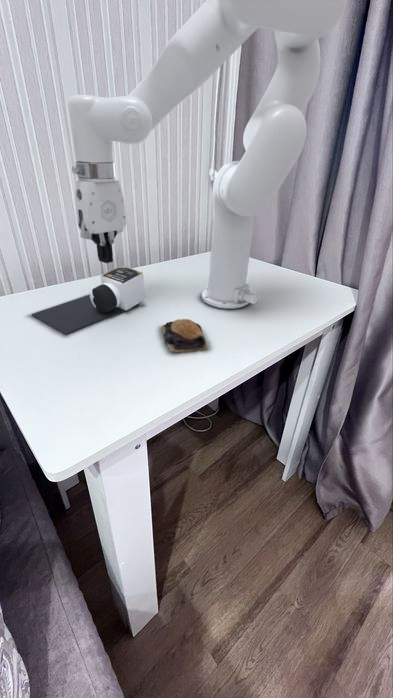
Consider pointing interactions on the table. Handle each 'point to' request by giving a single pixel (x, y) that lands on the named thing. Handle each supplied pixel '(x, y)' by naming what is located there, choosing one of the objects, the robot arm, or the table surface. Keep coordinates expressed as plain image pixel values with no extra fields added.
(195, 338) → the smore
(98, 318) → the mat
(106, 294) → the medicine bottle
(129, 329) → the table surface
